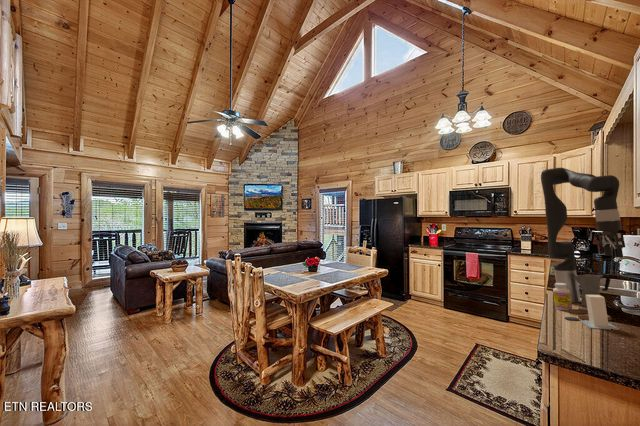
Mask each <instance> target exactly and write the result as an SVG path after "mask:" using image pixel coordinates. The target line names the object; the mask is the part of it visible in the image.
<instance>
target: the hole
mask: <svg viewBox="0 0 640 426" xmlns="http://www.w3.org/2000/svg"><path fill="white" fill-rule="evenodd" d="M564 320H566V321H570V322H572V321H573V322H579V321H580V319H579V318H578V317H574V316H565V317H564Z"/></svg>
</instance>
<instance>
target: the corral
mask: <svg viewBox="0 0 640 426" xmlns="http://www.w3.org/2000/svg"><path fill="white" fill-rule="evenodd" d="M568 311H569V313H570V314H572V313H573V314H574V313H575V314H577V318H578V319H579V320H589V316H588V315H587V314H588V310H584V309H578V308H572V309H569V310H568ZM585 314H586V315H585ZM607 317H608V321H612V317H611V316H610V315H608V314H607Z"/></svg>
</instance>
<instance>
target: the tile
mask: <svg viewBox="0 0 640 426" xmlns="http://www.w3.org/2000/svg"><path fill="white" fill-rule="evenodd" d="M579 321H580V322H581V323H582V324H583V325H585V326H586V327H587V328H589V329H596V330H610V331H611V329H613V331H615V330H616V331H619V330H620V328H618V327H616V326H615V325H613V324H611V323H610V322H608V324H609V327H604V326H594V325H592V324H591V323H590V322H589V320H579ZM580 322H579V323H580Z"/></svg>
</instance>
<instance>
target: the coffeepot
mask: <svg viewBox="0 0 640 426" xmlns="http://www.w3.org/2000/svg"><path fill="white" fill-rule="evenodd" d="M573 278H574V279H575V280H576V281H577V282H578V285H579V288H580V289H581V298H580V300H581V302H580V303H581V305H582V306H584V307H587V302H586V296H585V295H600V296H602V295H601V292H600V288H601V280H603V279H605V284H604V288H602V289H601V291H603V292H607V291H608V290H609V286H610V282H611V277H609V275H607V274H592V273H590V270H585V273H583V274H578V275H577V276H574V277H573Z"/></svg>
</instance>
